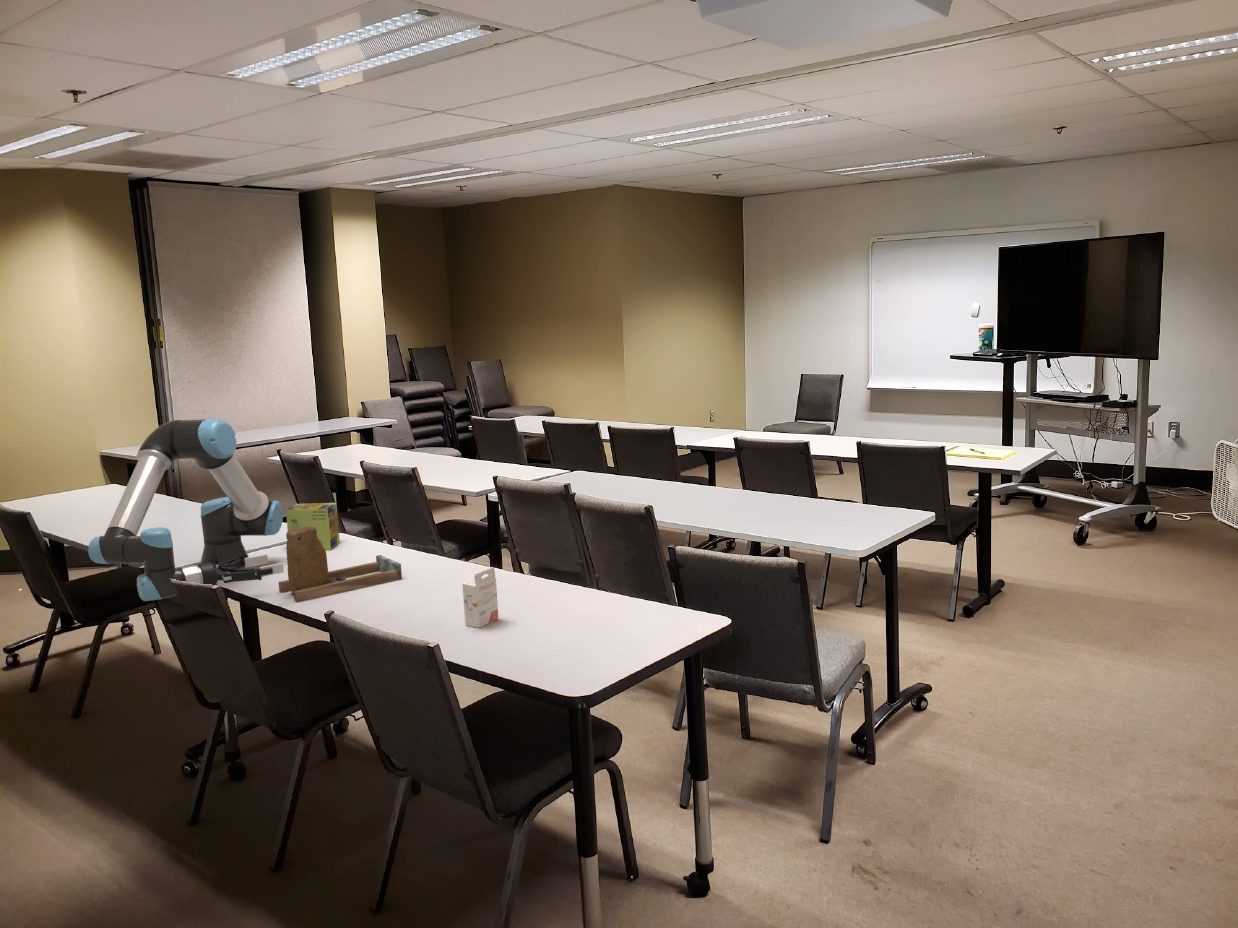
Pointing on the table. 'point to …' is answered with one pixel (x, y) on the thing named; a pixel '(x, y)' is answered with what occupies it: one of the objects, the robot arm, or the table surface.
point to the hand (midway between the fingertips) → (275, 563)
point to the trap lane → (350, 579)
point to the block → (305, 559)
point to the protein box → (316, 521)
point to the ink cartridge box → (480, 599)
